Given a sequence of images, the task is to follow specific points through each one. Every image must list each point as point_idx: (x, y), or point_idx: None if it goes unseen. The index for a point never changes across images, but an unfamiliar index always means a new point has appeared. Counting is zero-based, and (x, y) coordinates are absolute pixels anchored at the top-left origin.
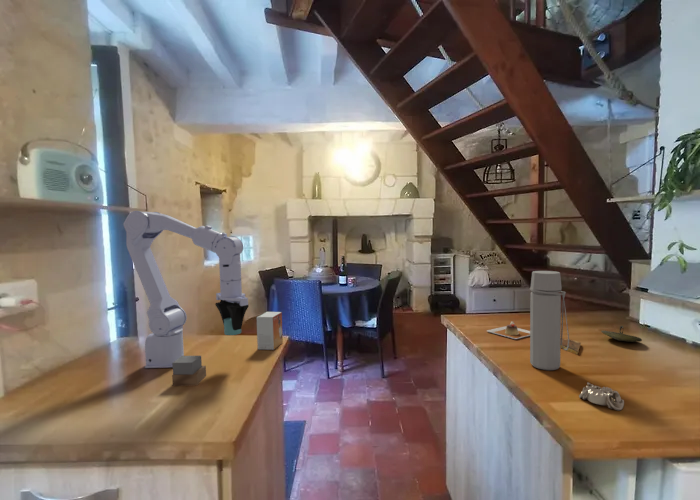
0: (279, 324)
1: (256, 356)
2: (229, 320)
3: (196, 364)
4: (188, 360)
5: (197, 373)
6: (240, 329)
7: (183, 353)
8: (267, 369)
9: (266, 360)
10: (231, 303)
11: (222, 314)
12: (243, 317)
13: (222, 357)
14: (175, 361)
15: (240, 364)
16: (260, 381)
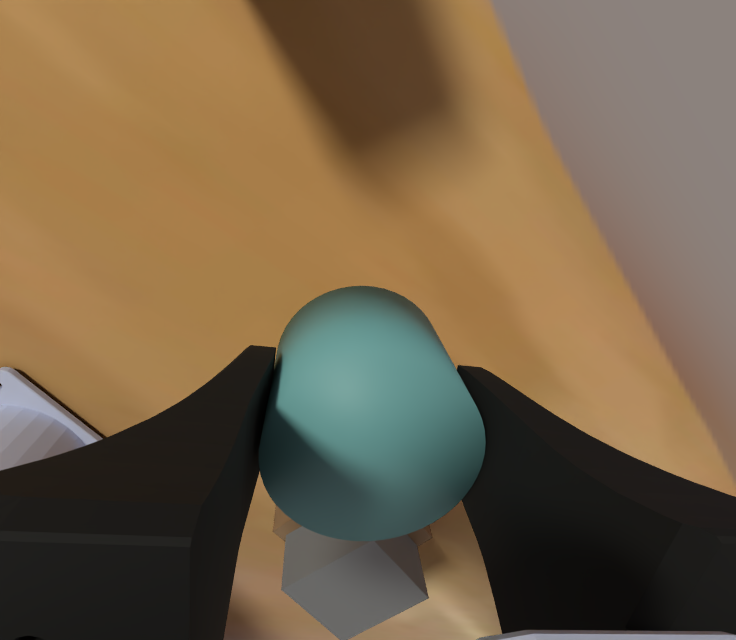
0: None
1: (345, 77)
2: (409, 512)
3: (401, 550)
4: (384, 597)
5: (425, 531)
6: (442, 344)
7: (27, 441)
8: (584, 214)
9: (474, 100)
10: (204, 596)
11: (235, 566)
12: (576, 432)
13: (160, 234)
14: (338, 630)
15: (379, 250)
16: (646, 338)
